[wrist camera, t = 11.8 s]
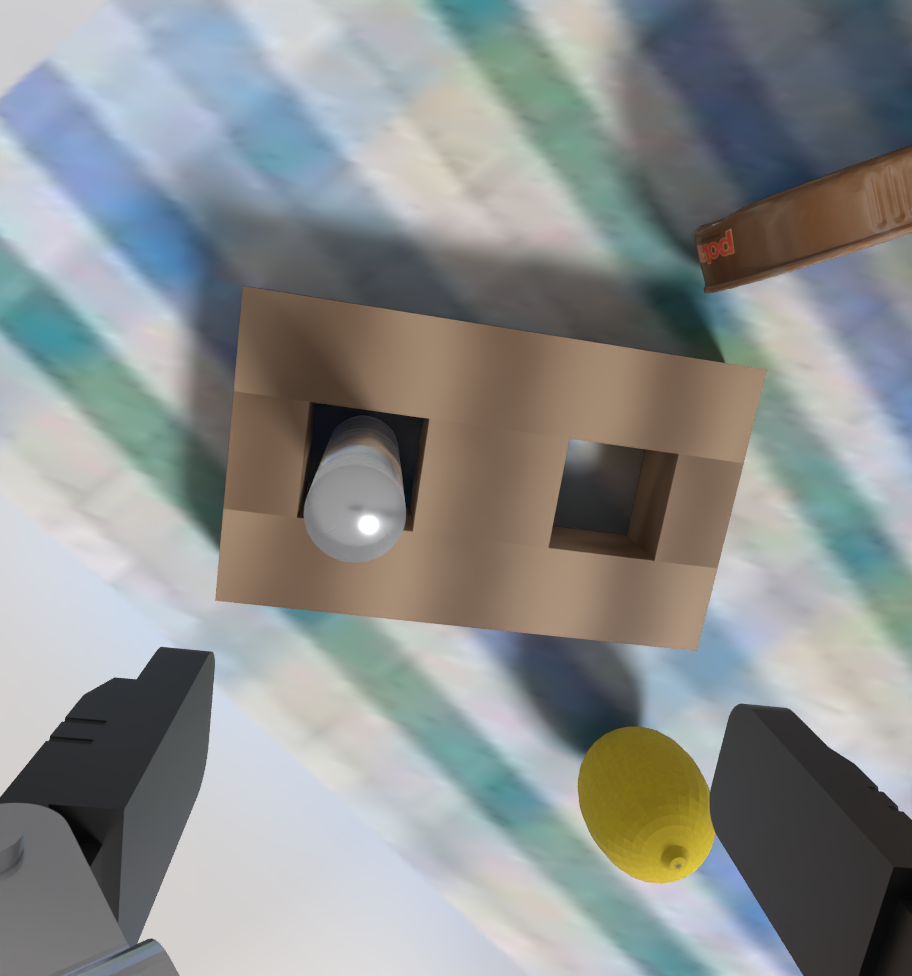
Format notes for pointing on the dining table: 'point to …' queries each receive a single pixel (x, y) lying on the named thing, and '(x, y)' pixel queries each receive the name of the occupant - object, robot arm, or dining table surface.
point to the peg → (357, 492)
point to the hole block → (484, 472)
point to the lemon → (646, 804)
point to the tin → (809, 223)
